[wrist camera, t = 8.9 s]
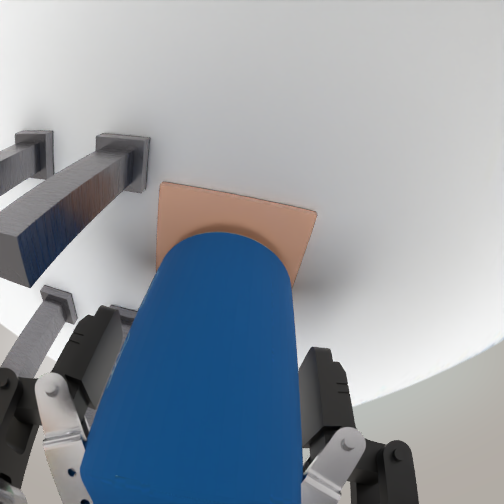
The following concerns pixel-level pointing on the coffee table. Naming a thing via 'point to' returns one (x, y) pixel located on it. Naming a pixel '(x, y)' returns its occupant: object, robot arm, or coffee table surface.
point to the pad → (232, 221)
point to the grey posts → (70, 212)
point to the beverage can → (203, 385)
